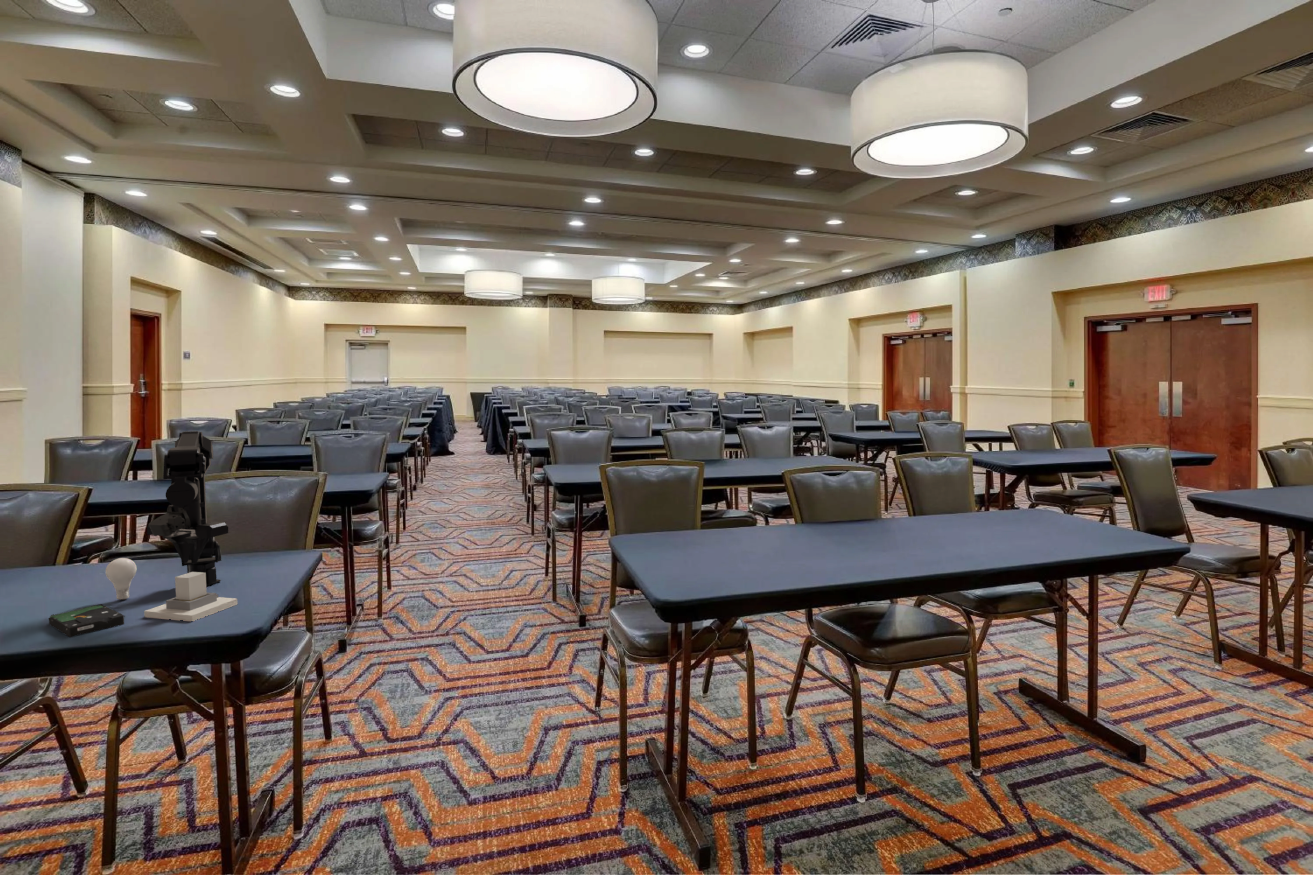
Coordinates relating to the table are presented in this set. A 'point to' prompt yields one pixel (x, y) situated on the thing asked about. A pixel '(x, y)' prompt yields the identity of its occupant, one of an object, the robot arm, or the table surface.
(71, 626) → the disk drive
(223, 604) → the socket plate
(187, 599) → the plug
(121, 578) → the lightbulb
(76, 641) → the table surface
